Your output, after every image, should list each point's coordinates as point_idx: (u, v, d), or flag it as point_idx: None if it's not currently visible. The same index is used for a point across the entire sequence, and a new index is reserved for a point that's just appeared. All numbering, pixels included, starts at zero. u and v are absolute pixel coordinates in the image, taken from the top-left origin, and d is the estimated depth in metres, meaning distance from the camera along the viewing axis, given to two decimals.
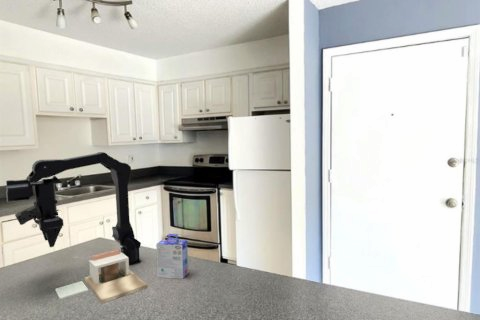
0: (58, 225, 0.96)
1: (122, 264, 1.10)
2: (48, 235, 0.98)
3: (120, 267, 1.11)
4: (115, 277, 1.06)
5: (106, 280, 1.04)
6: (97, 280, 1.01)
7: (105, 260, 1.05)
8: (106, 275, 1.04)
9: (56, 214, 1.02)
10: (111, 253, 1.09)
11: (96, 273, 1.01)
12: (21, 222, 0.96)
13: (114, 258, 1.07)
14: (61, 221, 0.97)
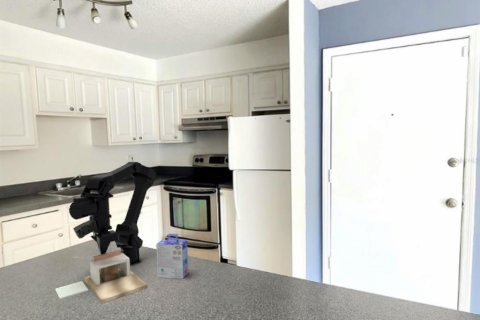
0: (115, 239, 1.02)
1: (123, 265, 1.09)
2: (101, 245, 1.06)
3: (121, 268, 1.11)
4: (115, 277, 1.06)
5: (106, 280, 1.04)
6: (98, 281, 1.00)
7: (106, 261, 1.05)
8: (106, 275, 1.04)
9: (110, 228, 1.07)
10: (112, 254, 1.08)
11: (97, 274, 1.00)
12: (80, 236, 1.01)
13: (115, 259, 1.06)
14: (117, 235, 1.02)
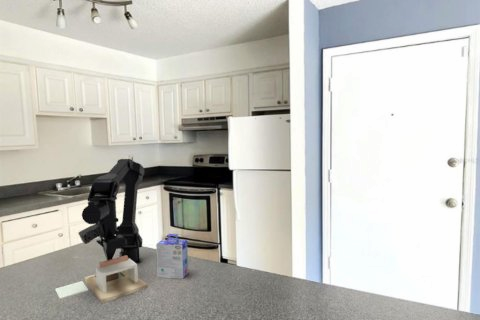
0: (122, 244, 0.96)
1: (130, 271, 1.04)
2: (107, 250, 1.01)
3: (128, 274, 1.06)
4: (115, 277, 1.06)
5: (106, 280, 1.04)
6: (104, 289, 0.95)
7: (113, 267, 0.99)
8: None
9: (117, 232, 1.02)
10: (119, 259, 1.03)
11: (103, 281, 0.95)
12: (86, 241, 0.96)
13: (122, 265, 1.01)
14: (125, 240, 0.97)
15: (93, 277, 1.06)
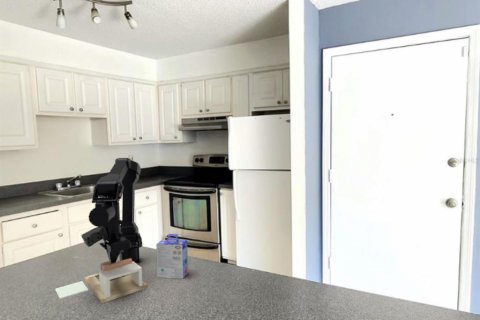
0: (127, 247, 0.94)
1: (134, 274, 1.01)
2: (111, 253, 0.98)
3: (132, 278, 1.03)
4: None
5: None
6: (108, 293, 0.92)
7: (116, 271, 0.97)
8: None
9: (121, 235, 0.99)
10: (122, 263, 1.00)
11: (107, 285, 0.92)
12: (89, 244, 0.93)
13: (126, 268, 0.98)
14: (129, 243, 0.94)
15: (93, 277, 1.06)
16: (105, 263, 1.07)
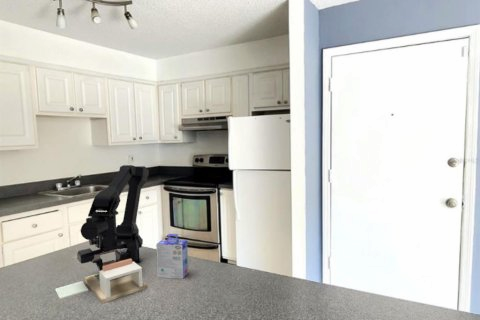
0: (80, 261, 0.99)
1: (134, 275, 1.01)
2: (96, 264, 1.05)
3: (132, 278, 1.03)
4: None
5: None
6: (108, 293, 0.92)
7: (117, 271, 0.96)
8: None
9: (103, 250, 1.03)
10: (123, 263, 1.00)
11: (107, 286, 0.92)
12: None
13: (126, 268, 0.98)
14: (81, 258, 0.98)
15: (93, 277, 1.06)
16: (105, 263, 1.07)
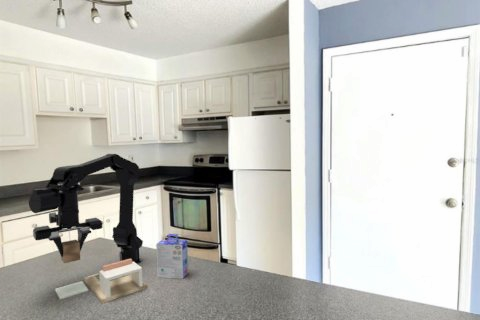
0: (35, 238, 0.91)
1: (134, 275, 1.01)
2: (55, 243, 0.96)
3: (132, 278, 1.03)
4: (76, 257, 0.97)
5: (65, 260, 0.95)
6: (108, 293, 0.92)
7: (117, 271, 0.96)
8: (65, 255, 0.95)
9: (62, 227, 0.94)
10: (123, 263, 1.00)
11: (107, 286, 0.92)
12: None
13: (126, 268, 0.98)
14: (35, 235, 0.90)
15: (93, 277, 1.06)
16: (65, 242, 0.98)
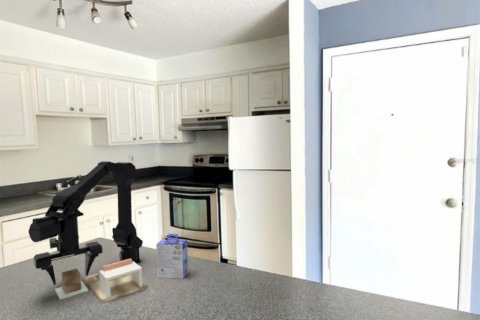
0: (35, 266, 0.91)
1: (134, 275, 1.01)
2: None
3: (132, 278, 1.03)
4: (77, 287, 0.98)
5: (66, 291, 0.96)
6: (108, 293, 0.92)
7: (117, 271, 0.96)
8: (66, 285, 0.96)
9: (62, 253, 0.95)
10: (123, 263, 1.00)
11: (107, 286, 0.92)
12: None
13: (126, 268, 0.98)
14: (36, 263, 0.90)
15: (93, 277, 1.06)
16: (66, 272, 0.99)
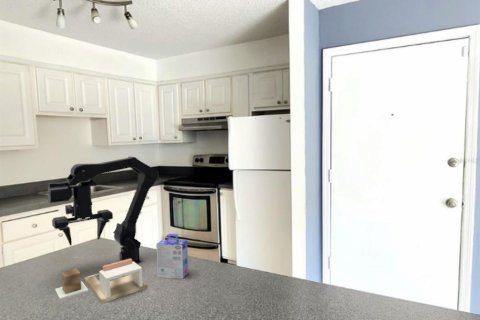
0: (54, 226, 1.03)
1: (134, 275, 1.01)
2: (64, 233, 1.07)
3: (132, 278, 1.03)
4: (77, 287, 0.98)
5: (66, 291, 0.96)
6: (108, 293, 0.92)
7: (117, 271, 0.96)
8: (66, 285, 0.96)
9: (77, 217, 1.06)
10: (123, 263, 1.00)
11: (107, 286, 0.92)
12: None
13: (126, 268, 0.98)
14: (55, 224, 1.02)
15: (93, 277, 1.06)
16: (66, 272, 0.99)
